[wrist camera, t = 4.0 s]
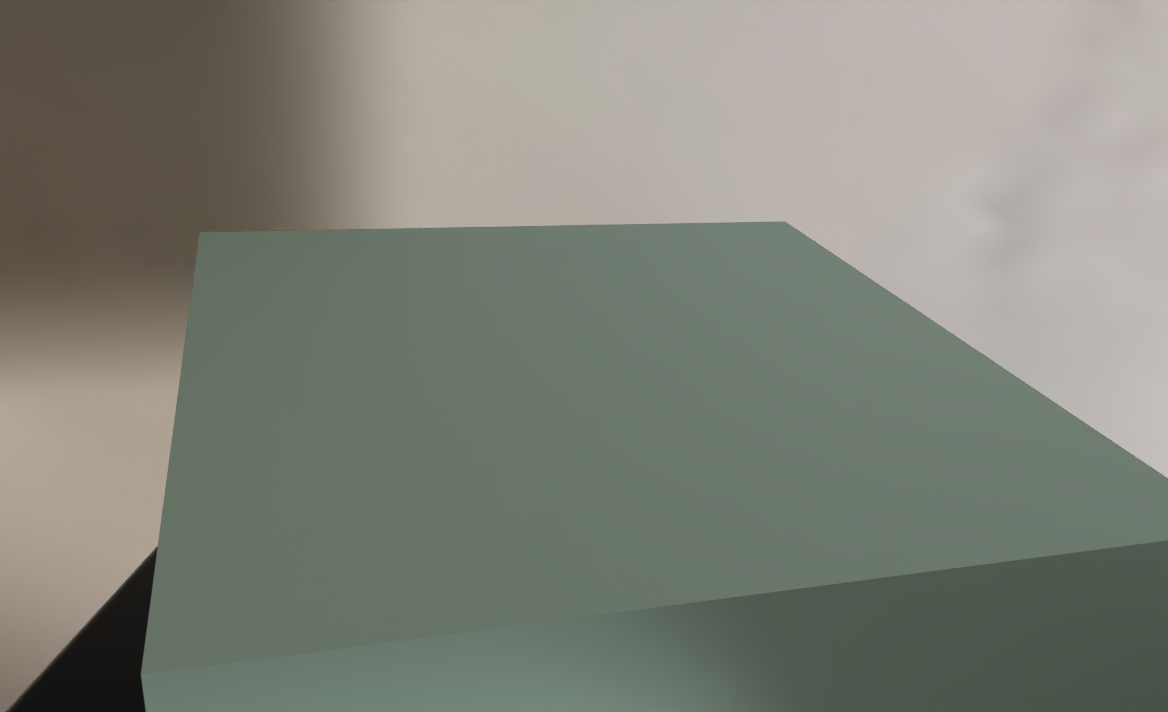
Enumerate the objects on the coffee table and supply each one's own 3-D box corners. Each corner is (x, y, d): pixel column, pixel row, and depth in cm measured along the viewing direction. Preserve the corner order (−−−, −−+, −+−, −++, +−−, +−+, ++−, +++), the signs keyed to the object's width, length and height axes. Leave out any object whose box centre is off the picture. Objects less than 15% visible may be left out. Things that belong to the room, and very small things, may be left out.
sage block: (715, 655, 11) (1001, 1139, 7) (241, 725, 10) (234, 1385, 6) (785, 221, 9) (1244, 531, 5) (199, 232, 8) (141, 675, 4)
